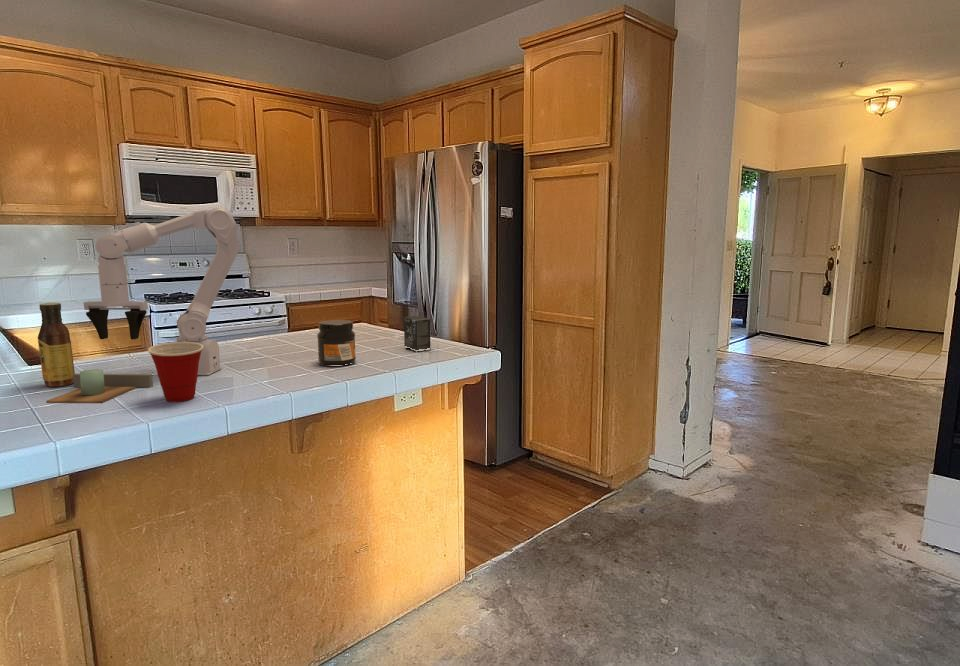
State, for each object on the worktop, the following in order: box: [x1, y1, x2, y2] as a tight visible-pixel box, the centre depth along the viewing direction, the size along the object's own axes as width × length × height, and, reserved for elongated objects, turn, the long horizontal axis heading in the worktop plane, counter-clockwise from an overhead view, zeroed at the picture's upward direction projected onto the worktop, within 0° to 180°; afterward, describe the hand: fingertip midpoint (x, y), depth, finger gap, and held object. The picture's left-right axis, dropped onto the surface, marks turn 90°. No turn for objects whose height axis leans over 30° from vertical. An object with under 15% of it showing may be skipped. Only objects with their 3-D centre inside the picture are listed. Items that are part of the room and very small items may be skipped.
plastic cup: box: [147, 341, 204, 403], centre depth 124 cm, size 11×11×12 cm
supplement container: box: [316, 319, 357, 366], centre depth 161 cm, size 10×10×12 cm
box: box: [403, 315, 431, 350], centre depth 182 cm, size 8×6×11 cm
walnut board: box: [45, 387, 136, 404], centre depth 127 cm, size 12×12×1 cm
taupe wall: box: [73, 373, 154, 388], centre depth 134 cm, size 18×1×3 cm, turn 91°
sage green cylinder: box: [79, 368, 105, 395], centre depth 127 cm, size 4×4×5 cm
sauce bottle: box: [37, 302, 76, 388], centre depth 134 cm, size 7×6×20 cm
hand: (119, 338), depth 140 cm, fingers open, 7 cm apart
